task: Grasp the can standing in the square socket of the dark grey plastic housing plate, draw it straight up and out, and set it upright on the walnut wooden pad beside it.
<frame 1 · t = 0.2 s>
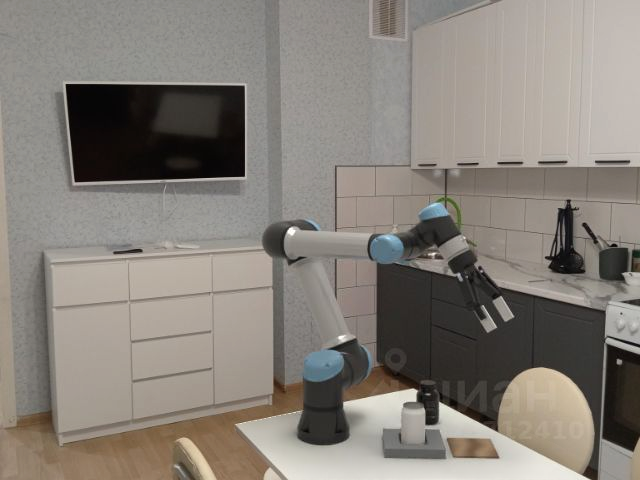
hand: (501, 324, 170), 35 cm above the table, tool tilted 35°, fingers open, 13 cm apart
can: (412, 448, 178), resting in housing plate
housing plate: (412, 447, 178), on the table
supplement bottle: (427, 421, 198), on the table
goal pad: (472, 448, 177), on the table
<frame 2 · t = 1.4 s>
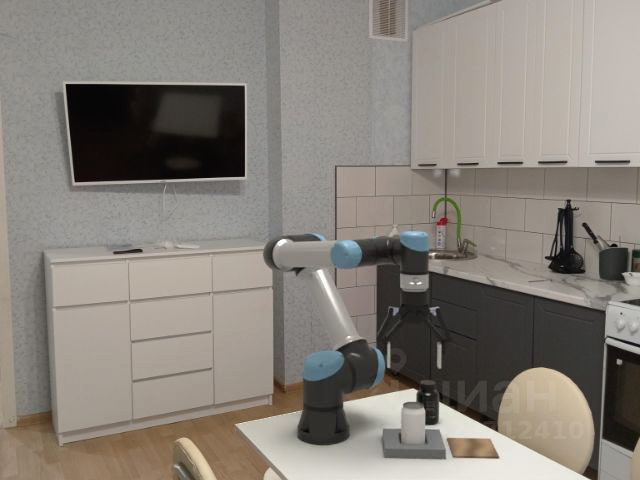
hand: (413, 367, 176), 23 cm above the table, tool pointing down, fingers open, 13 cm apart
nothing on the table moved.
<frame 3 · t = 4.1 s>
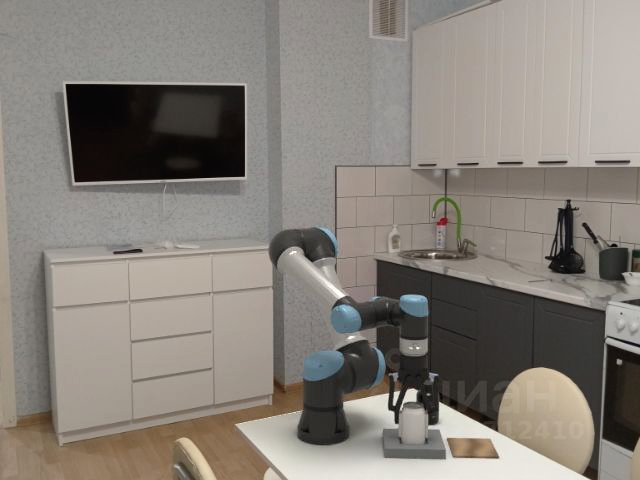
hand: (413, 435, 178), 3 cm above the table, tool pointing down, fingers closed on can, 6 cm apart
can: (412, 448, 178), resting in housing plate, touching gripper
everything else where it was.
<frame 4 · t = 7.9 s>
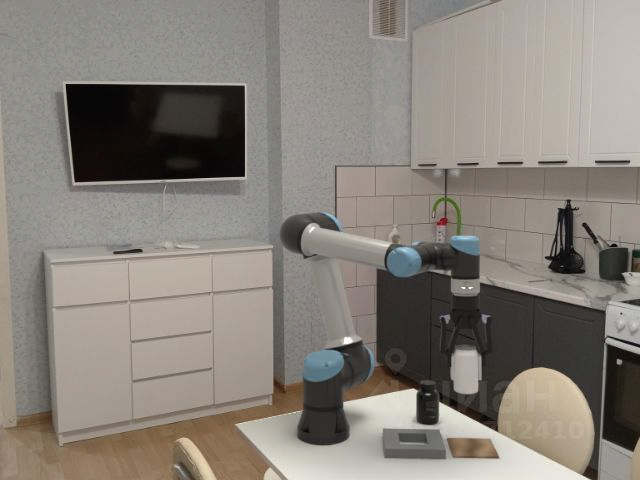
hand: (465, 378, 175), 20 cm above the table, tool pointing down, fingers closed on can, 6 cm apart
can: (465, 391, 175), point 16 cm above the table, touching gripper
everything else where it was.
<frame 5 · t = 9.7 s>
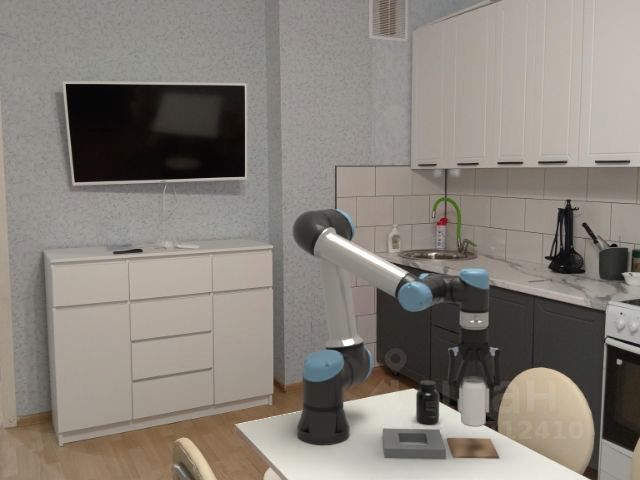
hand: (473, 410, 176), 11 cm above the table, tool pointing down, fingers closed on can, 6 cm apart
can: (473, 423, 176), point 7 cm above the table, touching gripper
everything else where it was.
when the fingers open (5 cm above the table, at t = 11.5 s): can stays where it is, resting on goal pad.
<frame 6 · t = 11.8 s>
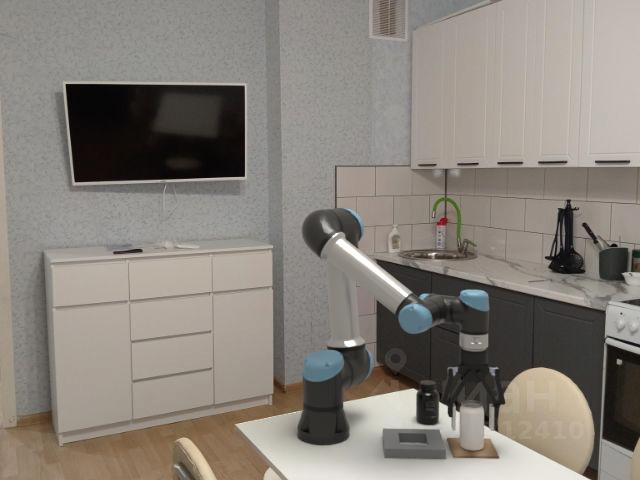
hand: (472, 428, 177), 6 cm above the table, tool pointing down, fingers open, 9 cm apart
can: (471, 447, 177), resting on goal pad
everything else where it was.
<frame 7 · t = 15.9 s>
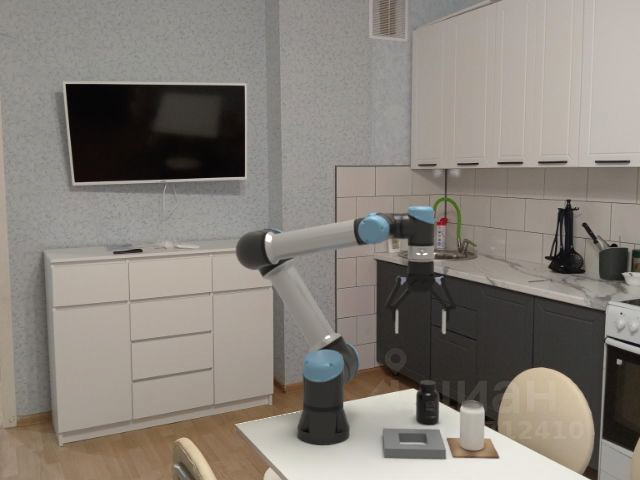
hand: (420, 332, 189), 29 cm above the table, tool pointing down, fingers open, 13 cm apart
nothing on the table moved.
at the end: can inside the target area (0.1 cm from its centre), resting on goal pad; can tilted 0°; the gripper is holding nothing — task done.
